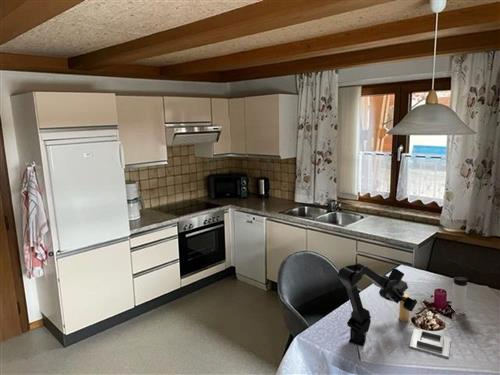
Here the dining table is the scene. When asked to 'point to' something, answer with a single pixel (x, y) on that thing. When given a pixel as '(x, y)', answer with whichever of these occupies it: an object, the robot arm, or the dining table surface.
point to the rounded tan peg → (403, 311)
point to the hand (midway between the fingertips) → (404, 305)
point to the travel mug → (459, 295)
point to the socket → (430, 342)
